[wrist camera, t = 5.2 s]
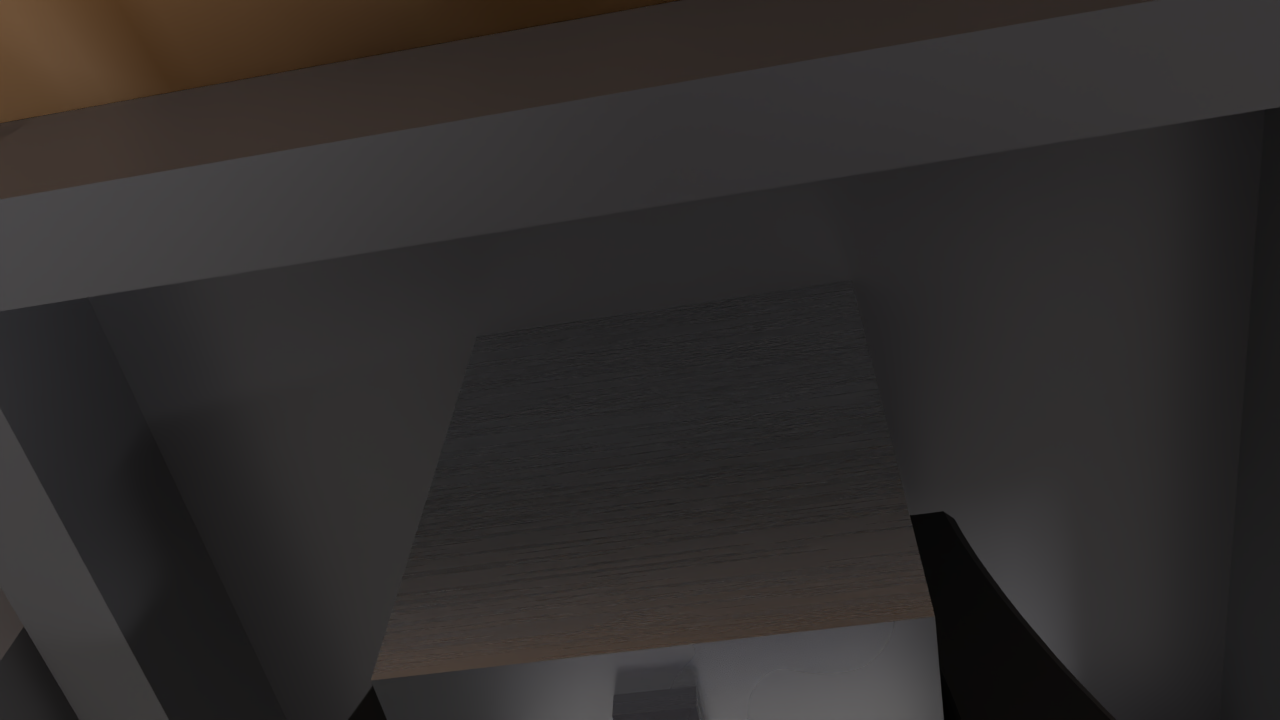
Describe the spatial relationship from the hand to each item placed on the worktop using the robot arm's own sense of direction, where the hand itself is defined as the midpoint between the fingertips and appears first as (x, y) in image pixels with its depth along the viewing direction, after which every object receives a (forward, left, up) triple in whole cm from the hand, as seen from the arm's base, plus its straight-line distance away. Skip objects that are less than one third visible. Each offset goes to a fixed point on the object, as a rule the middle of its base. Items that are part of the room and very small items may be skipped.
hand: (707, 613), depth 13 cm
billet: (0, 0, -1) cm, 1 cm away
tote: (0, 0, -2) cm, 2 cm away
